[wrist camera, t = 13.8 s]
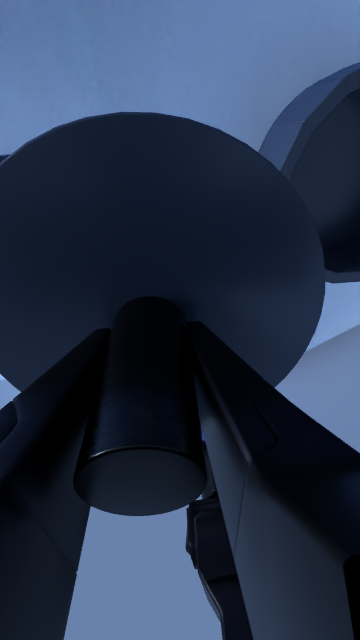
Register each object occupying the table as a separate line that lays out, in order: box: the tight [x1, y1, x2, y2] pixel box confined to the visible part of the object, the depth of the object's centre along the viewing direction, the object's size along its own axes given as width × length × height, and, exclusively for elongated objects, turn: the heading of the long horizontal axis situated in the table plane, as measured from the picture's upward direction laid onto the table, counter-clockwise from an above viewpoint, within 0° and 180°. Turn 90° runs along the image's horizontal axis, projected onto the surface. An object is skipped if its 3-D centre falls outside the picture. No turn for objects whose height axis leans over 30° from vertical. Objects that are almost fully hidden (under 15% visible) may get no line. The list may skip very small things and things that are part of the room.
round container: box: [259, 62, 360, 283], centre depth 16 cm, size 10×10×4 cm
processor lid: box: [0, 112, 326, 516], centre depth 8 cm, size 11×11×6 cm
